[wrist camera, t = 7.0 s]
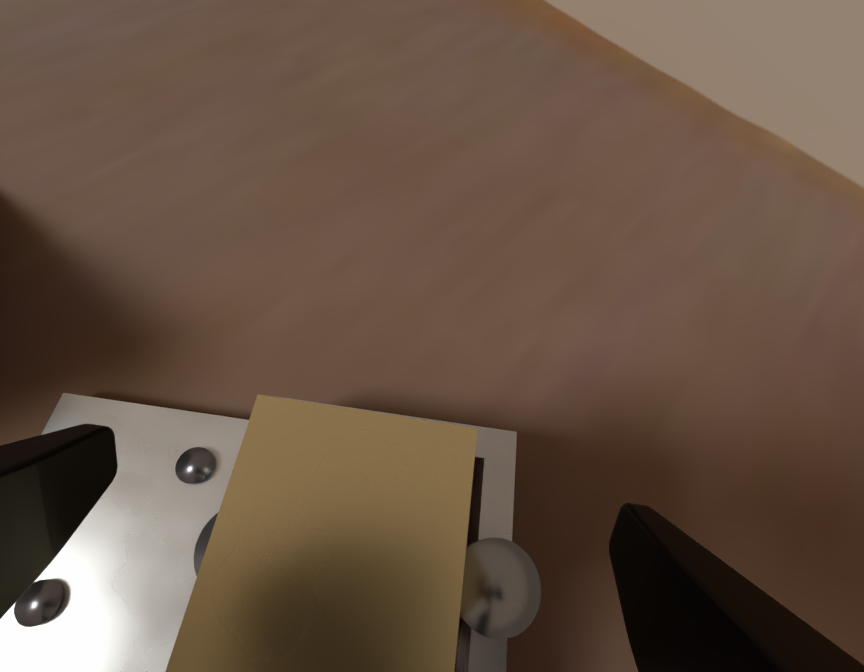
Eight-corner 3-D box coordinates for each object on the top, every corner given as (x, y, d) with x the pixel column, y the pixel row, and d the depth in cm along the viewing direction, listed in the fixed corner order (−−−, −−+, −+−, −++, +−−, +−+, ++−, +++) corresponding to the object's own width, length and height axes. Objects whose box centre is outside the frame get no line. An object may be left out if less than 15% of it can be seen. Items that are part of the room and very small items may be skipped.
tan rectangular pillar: (419, 652, 14) (453, 824, 5) (304, 634, 14) (132, 771, 5) (438, 501, 16) (486, 430, 7) (337, 485, 16) (257, 393, 7)
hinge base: (519, 451, 17) (544, 429, 14) (506, 762, 13) (537, 822, 10) (84, 387, 17) (19, 352, 14) (-66, 678, 13) (-198, 713, 10)
